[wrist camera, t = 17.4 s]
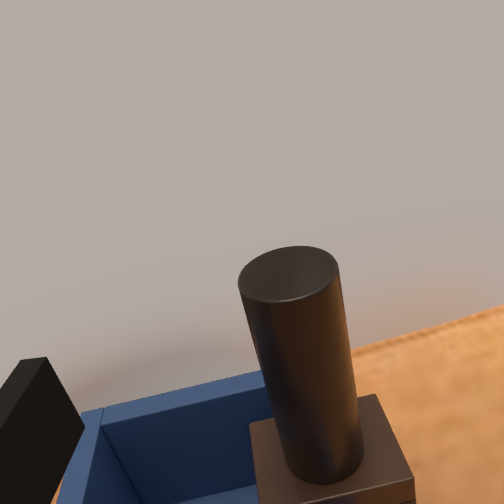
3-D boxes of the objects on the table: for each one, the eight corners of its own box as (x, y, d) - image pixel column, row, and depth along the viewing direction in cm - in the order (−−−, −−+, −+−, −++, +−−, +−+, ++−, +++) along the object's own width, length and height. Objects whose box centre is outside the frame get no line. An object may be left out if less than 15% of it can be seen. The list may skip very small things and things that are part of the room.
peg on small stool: (386, 484, 22) (355, 221, 16) (421, 574, 19) (402, 285, 12) (275, 510, 22) (197, 259, 16) (290, 604, 19) (197, 334, 12)
